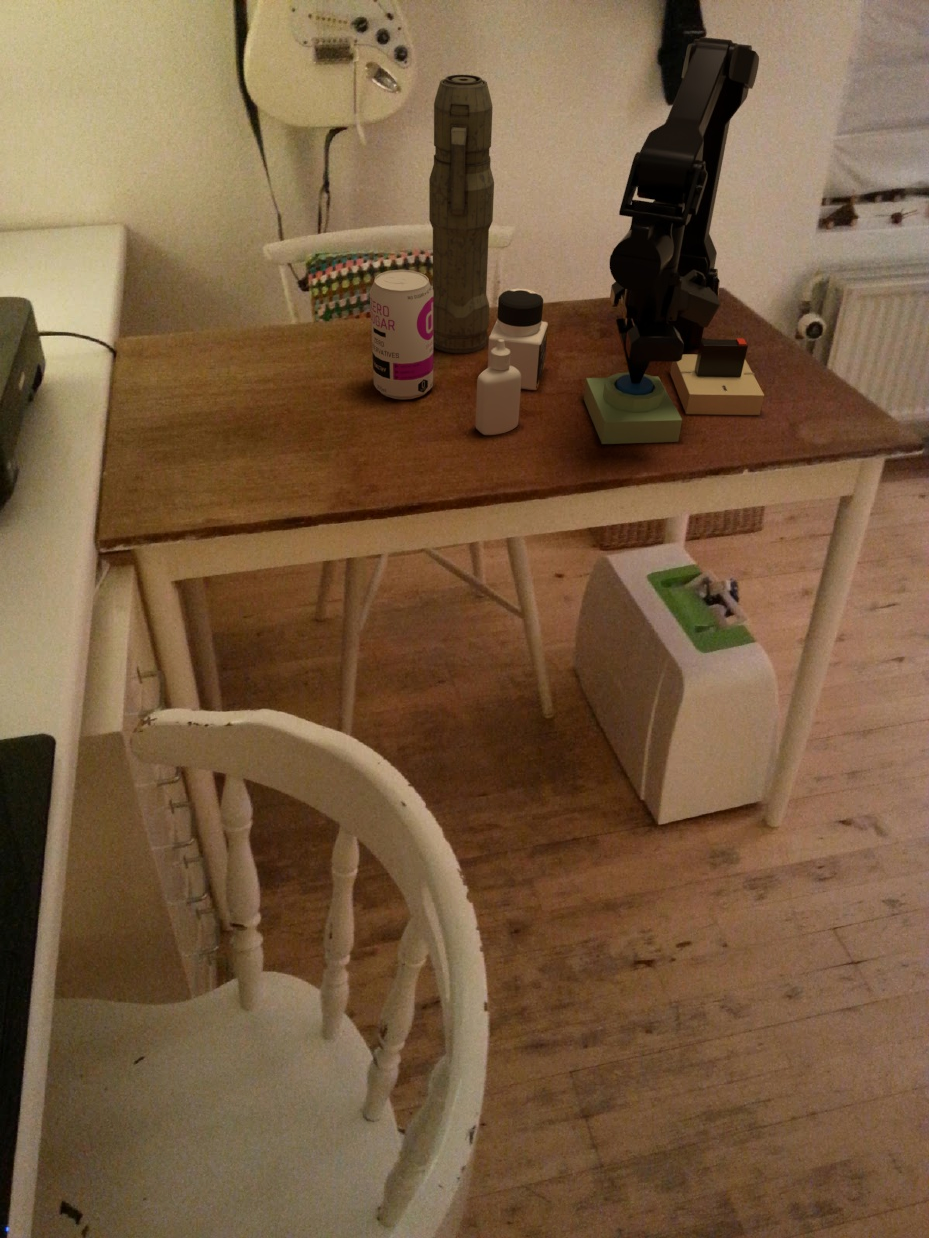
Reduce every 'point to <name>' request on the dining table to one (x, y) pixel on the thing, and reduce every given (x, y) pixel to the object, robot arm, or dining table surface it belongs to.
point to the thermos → (461, 213)
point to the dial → (721, 357)
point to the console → (716, 390)
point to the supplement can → (402, 333)
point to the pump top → (634, 385)
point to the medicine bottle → (522, 334)
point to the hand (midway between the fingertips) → (635, 382)
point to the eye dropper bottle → (498, 394)
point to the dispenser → (631, 412)
